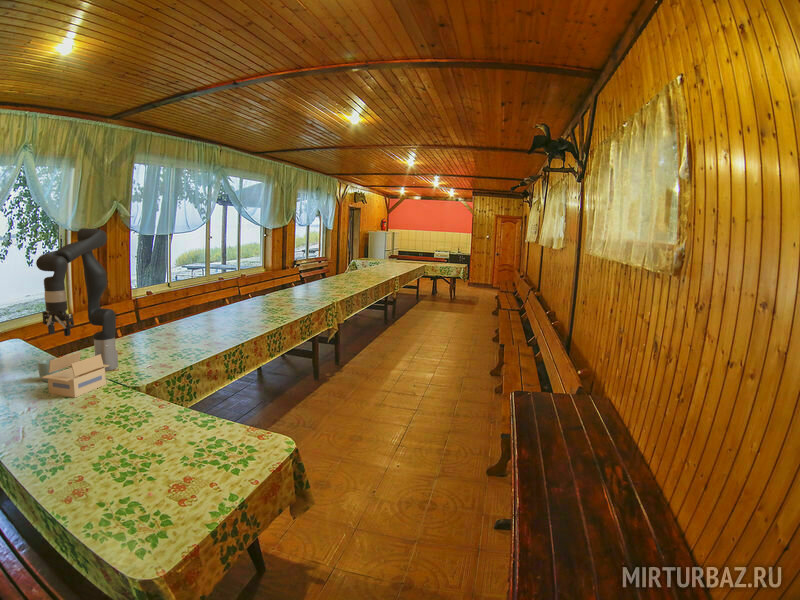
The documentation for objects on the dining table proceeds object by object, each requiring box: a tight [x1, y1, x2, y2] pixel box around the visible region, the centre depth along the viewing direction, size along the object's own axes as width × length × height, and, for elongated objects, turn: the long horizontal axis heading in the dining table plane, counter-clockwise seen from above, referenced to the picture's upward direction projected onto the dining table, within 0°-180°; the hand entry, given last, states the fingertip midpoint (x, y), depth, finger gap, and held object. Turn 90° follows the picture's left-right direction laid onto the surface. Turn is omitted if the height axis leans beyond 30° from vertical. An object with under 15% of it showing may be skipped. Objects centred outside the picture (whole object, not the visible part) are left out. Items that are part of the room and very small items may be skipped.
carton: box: [40, 364, 110, 399], centre depth 195 cm, size 22×14×9 cm, turn 170°
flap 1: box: [49, 351, 82, 373], centre depth 195 cm, size 15×6×1 cm
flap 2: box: [70, 354, 104, 376], centre depth 192 cm, size 15×6×1 cm
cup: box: [37, 358, 61, 383], centre depth 203 cm, size 8×8×10 cm
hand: (59, 334), depth 188 cm, fingers open, 8 cm apart
